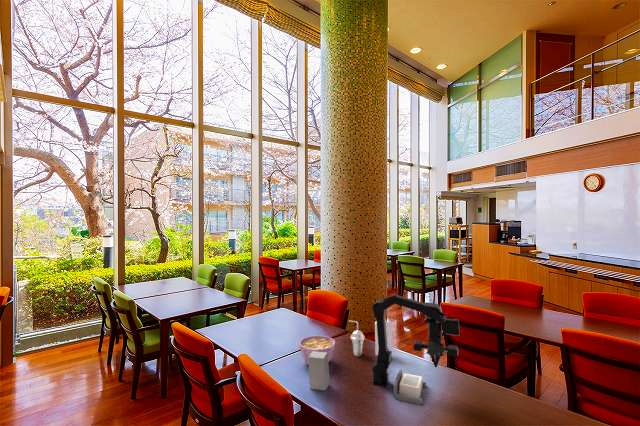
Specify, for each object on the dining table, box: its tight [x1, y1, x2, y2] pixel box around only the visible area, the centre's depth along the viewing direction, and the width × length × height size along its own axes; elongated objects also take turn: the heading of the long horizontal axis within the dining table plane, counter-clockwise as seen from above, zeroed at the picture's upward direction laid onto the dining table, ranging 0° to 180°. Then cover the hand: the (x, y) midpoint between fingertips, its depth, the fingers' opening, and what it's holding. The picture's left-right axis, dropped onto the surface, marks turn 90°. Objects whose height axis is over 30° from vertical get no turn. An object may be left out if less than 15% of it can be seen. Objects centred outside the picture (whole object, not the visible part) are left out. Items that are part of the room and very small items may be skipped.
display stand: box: [393, 368, 427, 406], centre depth 148 cm, size 12×16×6 cm
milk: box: [374, 318, 391, 356], centre depth 187 cm, size 6×6×22 cm
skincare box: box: [307, 351, 330, 392], centre depth 154 cm, size 8×7×16 cm
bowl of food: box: [299, 335, 336, 364], centre depth 179 cm, size 20×20×12 cm
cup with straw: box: [348, 319, 366, 357], centre depth 189 cm, size 8×9×20 cm
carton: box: [399, 373, 423, 398], centre depth 150 cm, size 8×11×5 cm
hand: (435, 366), depth 147 cm, fingers closed
